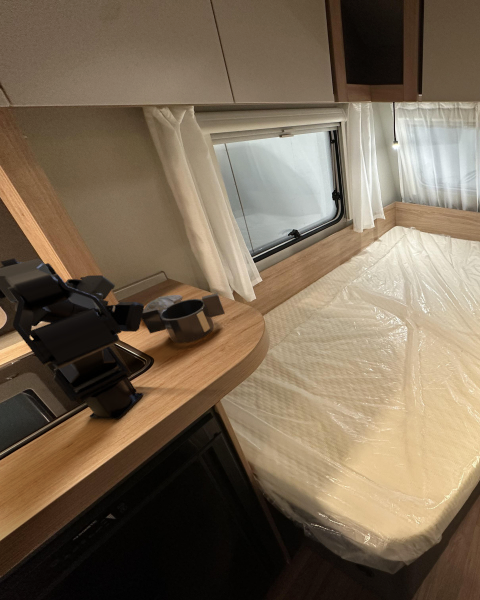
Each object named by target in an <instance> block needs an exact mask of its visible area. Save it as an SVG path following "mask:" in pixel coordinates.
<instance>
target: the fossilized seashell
mask: <svg viewBox="0 0 480 600" xmlns="http://www.w3.org/2000/svg"><path fill="white" fill-rule="evenodd" d="M183 298H184V297H183V296H182V295H180V294H169V295H161V296H159V297H157V298H154V299H153V300H151V301H149V302H148V303H147V304H146V306H144V310H143V311H145V310H149V309H153V308H157V307H158V308H159V310H160V312H162V311H163V310H164V309H165V308H167V307H168V306H170V305H172V304H175V303H177V302H180V301H183ZM141 320H142V318H141Z"/></svg>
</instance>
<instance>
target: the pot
mask: <svg viewBox="0 0 480 600" xmlns="http://www.w3.org/2000/svg"><path fill="white" fill-rule="evenodd" d="M225 314H226V311H225V308H224V306H223V303H222V300H221V297H220V295H219V293H218V292H216V293H212V294H208V295H203V296H201V298H189V299H184V300H181V301H180V302H177V303H175V304H172V305H170V306H168V307H167V308H165V309H164V310H163V311H162V312H160V310H159V308H158V307H157V308H153V309H149V310H145V311H143V314H142V319H141V321H142V322H143V323H144V325H145V327H146V329H147V331H148V332H149V334H150V335H151V334H154V333H157V332H161V331H165V332H166V333H167V335H168V337H169V338H170V340H171V341H172V342H174V343H176V344H185V343H191V342H195V341H198V340H200V339H203V338H204V337H206V336H208V335H209V334H210V333H211V332H212V331H213V330H214V329H215V320H214V317H219V316H222V315H225Z"/></svg>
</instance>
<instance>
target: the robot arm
mask: <svg viewBox="0 0 480 600" xmlns="http://www.w3.org/2000/svg"><path fill="white" fill-rule="evenodd" d="M0 264H1V266H0V300H3V299H5V298H6V299H7V300H8V301H9V302H10V303H12V304H13V303H15V306H14V311H15V315H14V318H13V322H12V327H13V328H14V329H15V331H16V332H17V333H18V334H19V336H20V337H21V339H22V340H23V341H24V343H25V344H26V346H28V347H29V349H30V350H31V352H32V353H33V354H34V355H35V357H36V358H37V359H38V360H39V361H40V363H41V364H42V365H43V366H48V365H50V364H52V365H53V367H54V369H53V372H54V373H53V374H54V376H53V380H54V381H55V383H56V384H57V385H58V387H59V388H60V389H61V390H62V392H63V393H64V395H66V397H67V398H68V400H70V401H71V402H72V403H73V402H78V403H79V404H81V403H83V402H84V403H85V404H86V405H87V406H88V407H89V409H90V410H91V411H92V413H91V414H90V415H89V418H90V419H93V420H94V419H95V420H119V419H121V418H122V417H124V416H125V414H127V412H128V411H129V410H130V409H131V408H132V407H133V406H135V404H137V402H138V401H140V400H141V399H142V398H143V397H144V393H143V392H137V389H136V387H135V386H134V385H133V383H132V381H131V380H130V379H129V378H130V377H132V375H131V373H130V371H129V369H128V368H127V367H126V366H125V365H124V363H123V362H122V361H121V359H120V358H119V357H118V355H117V354H116V353H115V351H113V348H111V346H114V345H116V344H119V342H120V340H121V339H120V336H119V334H121V333H122V332H124V333H125V332H128V333H129V332H130V333H132V332H133V333H135V332H138V331H139V330H140V327H141V323H142V319H141V318H142V314H143V310H144V308H145V305H144V304H143V303H141V302H137V301H119V302H118V303H117V304H111V305H109V300H106V299H107V297H108V296H109V294H110V293H111V292H112V290H113V289H115V287H116V285H115V283H113V282H112V281H110V280H109V279H108V278H106V277H105V276H104V275H103V274H102V275H101V274H98V275H94V274H93V275H86V276H80V277H79V278H80V279H78V278H68V279H67V280H66V281H64V280H63V278H62V277H61V276H60V274H58V273H57V271H55V269H54V268H53V266H52V265H51V264H50V263H49V262H47V263H45V262H43V260H41V259H39V258H35V259H30V260H28V261H22V262H21V261H18V260H17V259H16V258H10V259H6V260H1V261H0ZM41 322H42V323H47V324H45V325H42V326H39V327H37V326H38V325H39V324H41ZM33 327H36V328H34V329H32V328H33Z"/></svg>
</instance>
